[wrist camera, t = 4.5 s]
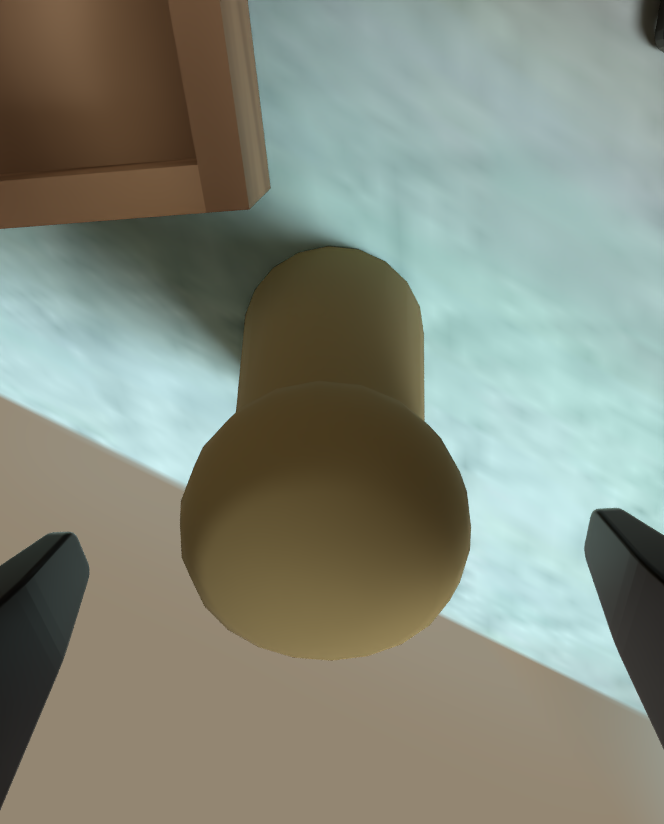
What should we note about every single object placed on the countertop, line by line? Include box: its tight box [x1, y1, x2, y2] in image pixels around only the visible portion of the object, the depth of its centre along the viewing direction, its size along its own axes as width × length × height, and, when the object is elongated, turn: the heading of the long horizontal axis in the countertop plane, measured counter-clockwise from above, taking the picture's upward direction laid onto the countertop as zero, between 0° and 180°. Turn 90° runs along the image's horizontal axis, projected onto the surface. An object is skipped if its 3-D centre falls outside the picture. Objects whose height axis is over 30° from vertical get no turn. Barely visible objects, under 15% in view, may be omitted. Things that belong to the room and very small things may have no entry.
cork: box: [180, 246, 471, 661], centre depth 13 cm, size 6×6×11 cm
